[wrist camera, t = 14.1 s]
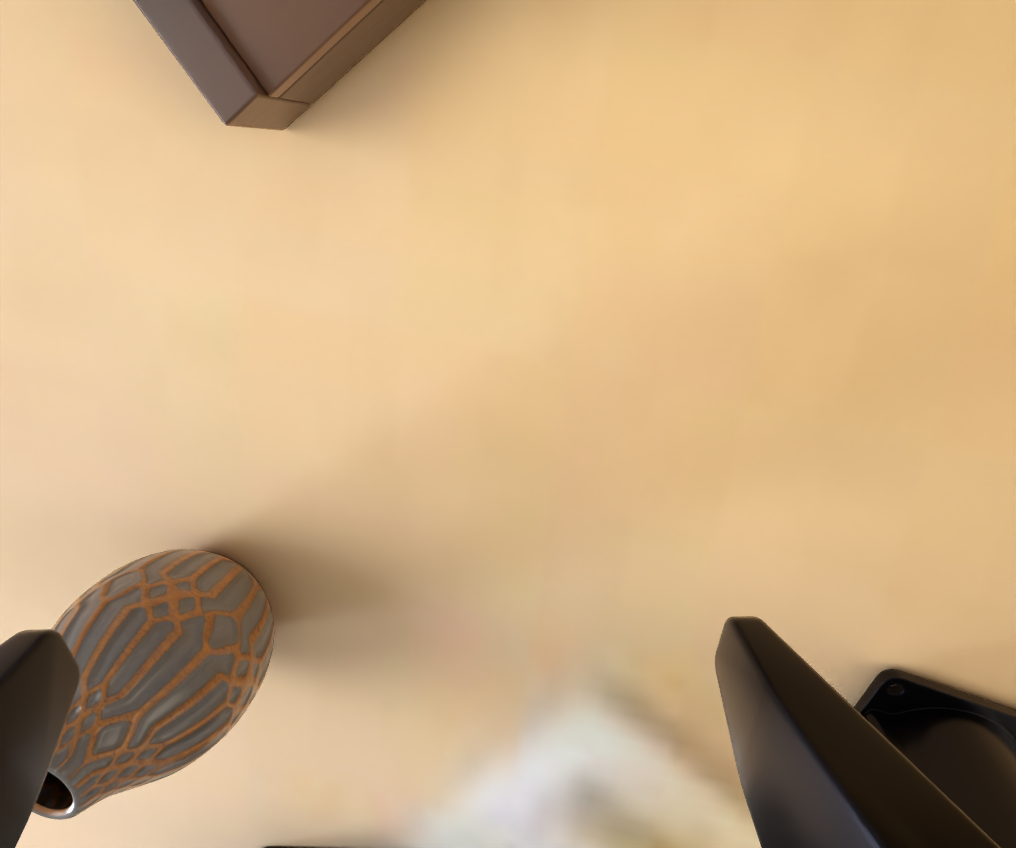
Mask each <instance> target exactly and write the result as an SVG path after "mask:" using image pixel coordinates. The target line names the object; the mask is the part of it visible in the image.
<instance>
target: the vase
mask: <svg viewBox="0 0 1016 848" xmlns="http://www.w3.org/2000/svg"><path fill="white" fill-rule="evenodd" d="M51 630H56V631H57V632H59V633H60V634H61V635H62V637H63V639H64V640H65V642H66V644H67V646H68V648H69V649H70V651H71V653H72V655H73V657H74V658H75V660H76V662H77V664H78V666H79V669H80V681H79V686H78V689H77V692H76V694H75V697H74V700H73V703H72V705H71V708H70V711H69V714H68V717H67V719H66V722H65V725H64V728H63V730H62V733H61V736H60V739H59V741H58V744H57V747H56V750H55V753H54V755H53V758H52V761H51V764H50V766H49V769H48V772H47V775H46V777H45V780H44V783H43V786H42V788H41V791H40V793H39V796H38V798H37V801H36V803H35V805H34V808H33V810H32V812H34V813H36V814H38V815H40V816H43V817H47V818H51V819H68V818H71V817H74V816H76V815H77V814H79V813H81V812H82V811H84V810H86V809H87V808H89V807H90V806H92V805H94V804H95V803H97V802H99V801H101V800H103V799H105V798H107V797H109V796H111V795H114V794H117V793H120V792H123V791H126V790H130V789H133V788H136V787H139V786H142V785H145V784H148V783H151V782H154V781H156V780H159V779H162V778H164V777H167V776H169V775H171V774H173V773H175V772H177V771H179V770H181V769H183V768H184V767H186V766H188V765H189V764H191V763H192V762H194V761H195V760H197V759H198V758H199V757H201V756H202V755H203V754H205V753H206V752H207V751H208V750H209V749H211V748H212V747H213V746H214V745H215V744H217V743H218V742H219V741H220V740H221V739H222V738H223V737H224V736H225V735H226V734H227V733H228V732H229V731H230V730H231V729H232V727H233V726H234V725H235V724H236V723H237V722H238V720H239V719H240V718H241V716H242V715H243V713H244V712H245V711H246V709H247V708H248V706H249V705H250V703H251V701H252V700H253V698H254V696H255V695H256V693H257V691H258V689H259V687H260V686H261V684H262V682H263V679H264V677H265V674H266V671H267V669H268V666H269V662H270V658H271V654H272V650H273V641H274V622H273V616H272V611H271V608H270V605H269V602H268V600H267V598H266V595H265V593H264V591H263V590H262V588H261V586H260V585H259V583H258V582H257V581H256V579H255V578H254V577H253V576H252V575H251V574H250V573H249V572H248V571H247V570H246V569H245V568H243V567H242V566H241V565H239V564H238V563H236V562H234V561H232V560H230V559H228V558H226V557H223V556H220V555H217V554H214V553H210V552H206V551H201V550H169V551H164V552H160V553H156V554H152V555H149V556H146V557H143V558H141V559H138V560H135V561H133V562H131V563H129V564H127V565H125V566H123V567H121V568H119V569H117V570H115V571H114V572H112V573H111V574H109V575H108V576H106V577H104V578H103V579H102V580H100V581H99V582H98V583H96V584H95V585H94V586H92V587H91V588H90V589H88V590H87V591H86V592H85V593H84V594H82V595H81V596H80V597H79V598H78V599H77V600H76V601H75V602H74V603H73V604H72V605H71V606H70V607H69V608H68V609H67V610H66V611H65V612H64V614H63V615H62V616H61V617H60V619H59V620H58V621H57V622H56V624H55V625H54V626H53V628H52V629H51Z"/></svg>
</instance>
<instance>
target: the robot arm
mask: <svg viewBox="0 0 1016 848" xmlns="http://www.w3.org/2000/svg"><path fill="white" fill-rule="evenodd" d="M715 668H716V674H717V678H718V683H719V688H720V692H721V697H722V701H723V706H724V710H725V715H726V720H727V724H728V729H729V733H730V738H731V742H732V747H733V751H734V756H735V761H736V765H737V769H738V773H739V778H740V782H741V785H742V788H743V792H744V795H745V798H746V802H747V805H748V808H749V811H750V814H751V817H752V820H753V823H754V826H755V829H756V832H757V835H758V838H759V841H760V844H761V847H762V848H1016V710H1013V709H1011V708H1008V707H1005V706H1002V705H999V704H996V703H993V702H990V701H987V700H984V699H981V698H978V697H976V696H973V695H970V694H967V693H964V692H961V691H958V690H955V689H952V688H949V687H946V686H943V685H940V684H938V683H935V682H932V681H929V680H926V679H923V678H920V677H917V676H914V675H911V674H908V673H905V672H903V671H900V670H895V669H889V670H885V671H882V672H881V673H879V674H878V675H877V676H876V678H875V679H874V681H873V682H872V683H871V685H870V686H869V687H868V689H867V690H866V692H865V693H864V694H863V696H862V697H861V698H860V700H859V701H858V703H857V704H856V705H855V707H853V706H852V705H850V704H849V703H848V702H847V701H846V700H845V699H844V698H843V697H842V696H841V695H840V694H839V693H838V692H837V691H836V690H835V689H834V688H833V687H832V686H831V685H830V684H828V683H827V682H826V681H825V680H824V679H823V678H822V677H821V676H820V675H819V674H818V673H817V672H816V671H815V670H814V669H813V668H812V667H811V666H810V665H809V664H808V663H806V662H805V661H804V660H803V659H802V658H801V657H800V656H799V655H798V654H797V653H796V652H795V651H794V650H793V649H792V648H791V647H790V646H789V645H788V644H787V643H786V642H784V641H783V640H782V639H781V638H780V637H779V636H778V635H777V634H776V633H775V632H774V631H773V630H772V629H771V628H770V627H769V626H768V625H767V624H766V623H765V622H763V621H762V620H761V619H759V618H757V617H753V616H743V617H730V618H728V619H727V620H726V622H725V624H724V628H723V631H722V634H721V638H720V641H719V644H718V648H717V651H716V655H715ZM79 681H80V669H79V666H78V664H77V662H76V660H75V658H74V657H73V655H72V653H71V651H70V649H69V648H68V646H67V644H66V642H65V640H64V639H63V637H62V635H61V634H60V633H59V632H57V631H56V630H51V629H47V630H25V631H21V632H19V633H17V634H16V635H14V636H12V637H11V638H9V639H8V640H7V641H5V642H4V643H2V644H1V645H0V848H15V846H16V844H17V842H18V840H19V838H20V836H21V834H22V832H23V830H24V827H25V825H26V823H27V821H28V819H29V816H30V814H31V812H32V810H33V808H34V805H35V803H36V801H37V798H38V796H39V793H40V791H41V788H42V786H43V783H44V780H45V777H46V775H47V772H48V769H49V766H50V764H51V761H52V758H53V755H54V753H55V750H56V747H57V744H58V741H59V739H60V736H61V733H62V730H63V728H64V725H65V722H66V719H67V717H68V714H69V711H70V708H71V705H72V703H73V700H74V697H75V694H76V692H77V689H78V686H79ZM895 683H897V684H896V685H895V686H890V685H891V684H895Z"/></svg>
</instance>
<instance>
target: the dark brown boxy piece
mask: <svg viewBox="0 0 1016 848" xmlns="http://www.w3.org/2000/svg"><path fill="white" fill-rule="evenodd" d="M133 1H134V2H135V3H136V5H137V6H138V7H139V9H140V10H141V11H142V13H143V14H144V16H145V17H146V18H147V20H148V21H149V22H150V24H151V25H152V26H153V28H154V29H155V31H156V32H157V33H158V35H159V36H160V37H161V39H162V40H163V41H164V43H165V44H166V45H167V47H168V48H169V50H170V51H171V52H172V54H173V55H174V56H175V58H176V59H177V60H178V62H179V63H180V64H181V66H182V67H183V69H184V70H185V71H186V73H187V74H188V75H189V77H190V78H191V79H192V81H193V82H194V84H195V85H196V86H197V88H198V89H199V90H200V92H201V93H202V94H203V96H204V97H205V98H206V100H207V101H208V103H209V104H210V105H211V107H212V108H213V109H214V111H215V112H216V113H217V115H218V116H219V118H220V119H221V120H222V122H223V123H224V124H225V125H227V126H237V127H249V128H261V129H272V130H284V129H285V128H286V127H287V126H289V125H290V124H291V123H292V122H293V121H294V120H295V119H296V118H297V117H298V116H300V115H301V114H302V113H303V112H304V111H305V110H306V109H307V108H308V107H309V106H310V103H311V104H312V103H314V102H315V101H316V100H317V99H318V98H319V97H321V96H322V95H323V94H324V93H325V92H326V91H327V90H328V89H329V88H330V87H331V86H333V85H334V84H335V83H336V82H337V81H338V80H339V79H340V78H341V77H342V76H344V75H345V74H346V73H347V72H348V71H349V70H350V69H351V68H352V67H353V66H355V65H356V64H357V63H358V62H359V61H360V60H361V59H362V58H363V57H364V56H366V55H367V54H368V53H369V52H370V51H371V50H372V49H373V48H374V47H375V46H376V45H378V44H379V43H380V42H381V41H382V40H383V39H384V38H385V37H386V36H387V35H389V34H390V33H391V32H392V31H393V30H394V29H395V28H396V27H397V26H398V25H400V24H401V23H402V22H403V21H404V20H405V19H406V18H407V17H408V16H409V15H411V14H412V13H413V12H414V11H415V10H416V9H417V8H418V7H419V6H420V5H421V4H423V3H424V2H425V1H426V0H133Z"/></svg>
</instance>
